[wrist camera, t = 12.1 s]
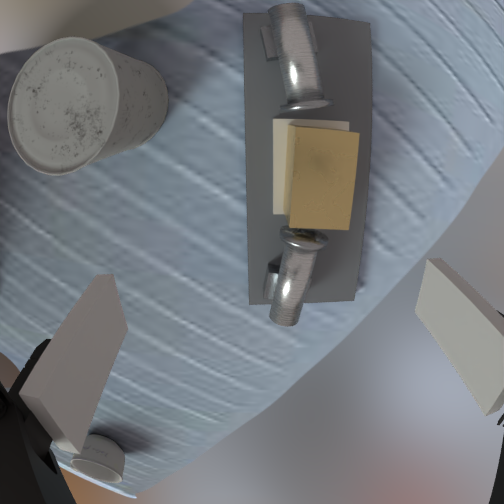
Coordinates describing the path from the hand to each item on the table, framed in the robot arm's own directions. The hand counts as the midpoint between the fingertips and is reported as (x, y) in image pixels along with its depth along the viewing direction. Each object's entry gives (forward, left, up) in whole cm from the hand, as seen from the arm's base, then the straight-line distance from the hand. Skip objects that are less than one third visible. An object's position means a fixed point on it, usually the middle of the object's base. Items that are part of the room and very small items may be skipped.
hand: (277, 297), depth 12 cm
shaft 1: (+3, +12, -19) cm, 22 cm away
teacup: (-33, -50, -20) cm, 63 cm away
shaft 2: (+3, -8, -19) cm, 21 cm away
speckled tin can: (-13, +9, -20) cm, 26 cm away
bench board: (+5, +2, -20) cm, 21 cm away
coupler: (+5, +2, -18) cm, 19 cm away
